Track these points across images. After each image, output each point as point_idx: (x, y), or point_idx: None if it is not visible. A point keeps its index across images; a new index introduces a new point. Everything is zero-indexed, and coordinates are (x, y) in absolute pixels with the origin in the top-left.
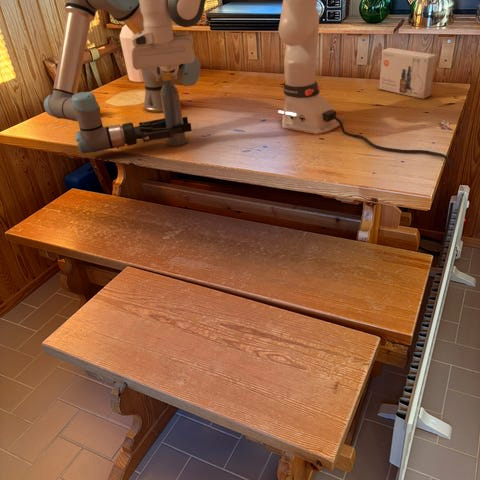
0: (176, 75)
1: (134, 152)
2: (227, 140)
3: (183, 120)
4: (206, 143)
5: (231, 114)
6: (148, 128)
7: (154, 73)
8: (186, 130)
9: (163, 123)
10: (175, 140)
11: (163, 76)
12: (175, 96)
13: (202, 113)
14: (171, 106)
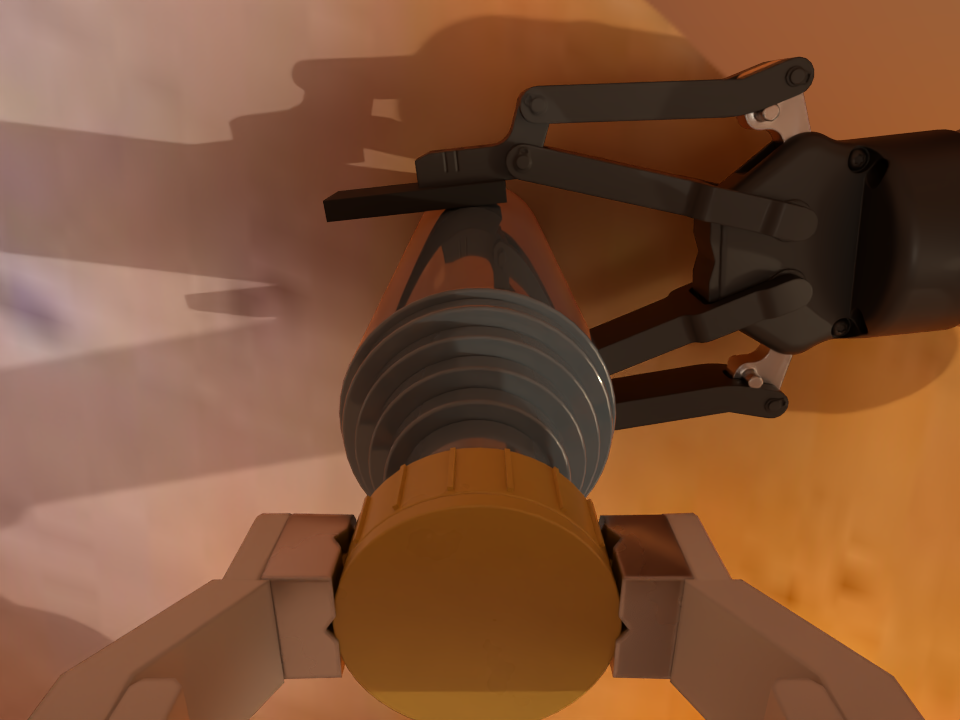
0: (245, 545)
1: None
2: (94, 148)
3: None
4: (259, 148)
5: (102, 599)
6: (735, 197)
7: (787, 623)
8: (381, 188)
9: None
10: None
11: (551, 512)
12: (394, 301)
13: None
14: (478, 245)
